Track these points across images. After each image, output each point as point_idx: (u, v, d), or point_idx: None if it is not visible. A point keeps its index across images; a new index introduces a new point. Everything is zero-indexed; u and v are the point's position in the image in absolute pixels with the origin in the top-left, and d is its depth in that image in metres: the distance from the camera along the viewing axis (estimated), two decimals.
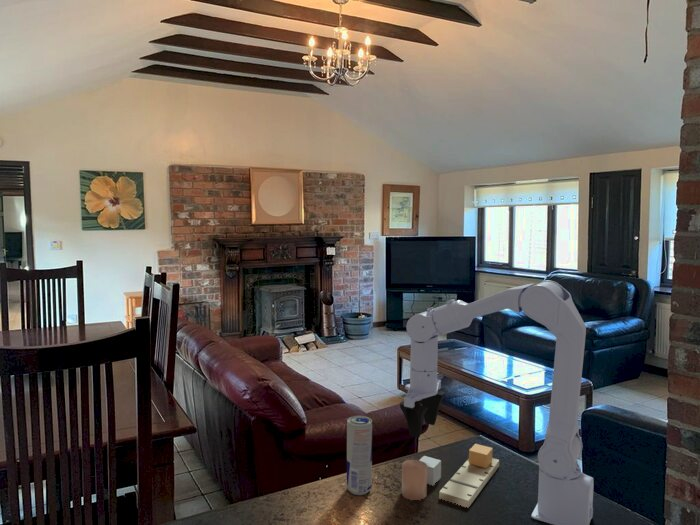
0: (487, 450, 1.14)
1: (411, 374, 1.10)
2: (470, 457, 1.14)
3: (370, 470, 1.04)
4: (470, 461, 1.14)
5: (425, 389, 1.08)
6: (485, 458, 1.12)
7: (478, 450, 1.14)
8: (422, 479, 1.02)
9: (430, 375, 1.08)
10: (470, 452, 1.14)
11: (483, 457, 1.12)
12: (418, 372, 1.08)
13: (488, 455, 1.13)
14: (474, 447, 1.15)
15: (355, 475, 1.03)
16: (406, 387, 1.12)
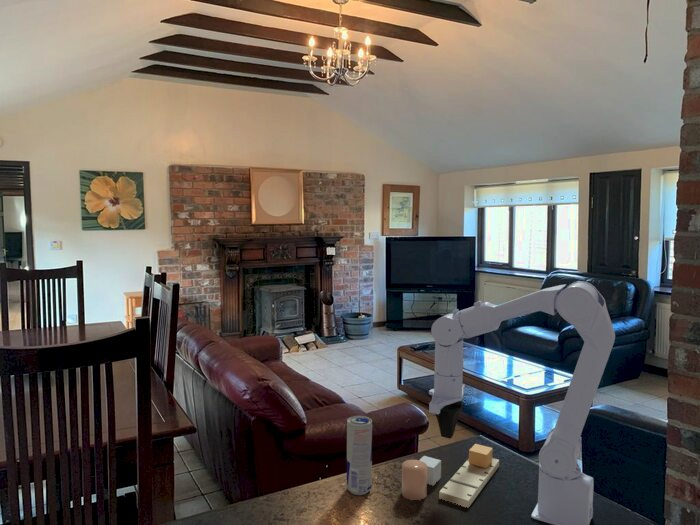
0: (487, 450, 1.14)
1: (435, 379, 1.06)
2: (470, 457, 1.14)
3: (370, 470, 1.04)
4: (470, 461, 1.14)
5: (451, 394, 1.04)
6: (485, 458, 1.12)
7: (478, 450, 1.14)
8: (422, 479, 1.02)
9: (456, 380, 1.04)
10: (470, 452, 1.14)
11: (483, 457, 1.12)
12: (443, 377, 1.04)
13: (488, 455, 1.13)
14: (474, 447, 1.15)
15: (355, 475, 1.03)
16: (430, 392, 1.08)
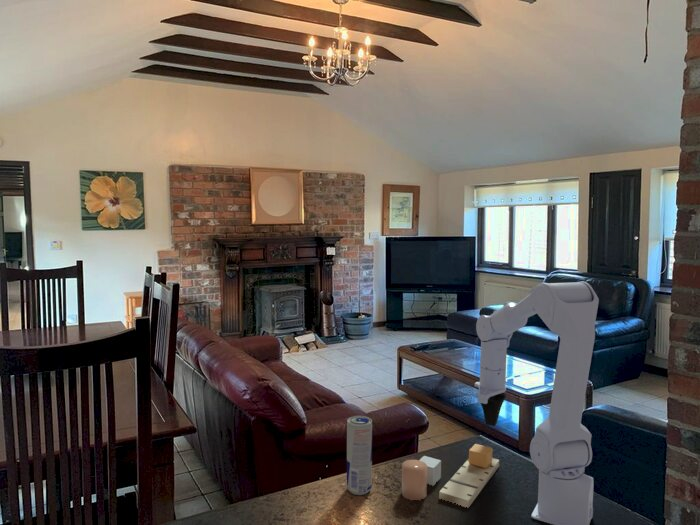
0: (487, 450, 1.14)
1: (481, 372, 1.18)
2: (470, 457, 1.14)
3: (370, 470, 1.04)
4: (470, 461, 1.14)
5: (496, 386, 1.16)
6: (485, 458, 1.12)
7: (478, 450, 1.14)
8: (422, 479, 1.02)
9: (500, 373, 1.16)
10: (470, 452, 1.14)
11: (483, 457, 1.12)
12: (489, 371, 1.16)
13: (488, 455, 1.13)
14: (474, 447, 1.15)
15: (355, 475, 1.03)
16: (476, 384, 1.20)
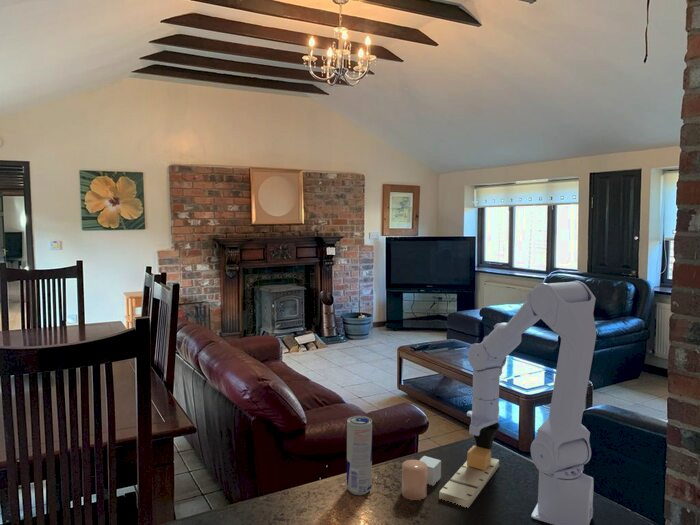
0: (485, 452, 1.13)
1: (474, 402, 1.14)
2: (468, 459, 1.13)
3: (370, 470, 1.04)
4: (468, 463, 1.13)
5: (489, 417, 1.13)
6: (484, 460, 1.11)
7: (476, 452, 1.13)
8: (422, 479, 1.02)
9: (493, 403, 1.13)
10: (468, 454, 1.13)
11: (481, 459, 1.11)
12: (481, 400, 1.13)
13: (486, 457, 1.12)
14: (472, 449, 1.14)
15: (355, 475, 1.03)
16: (468, 414, 1.17)
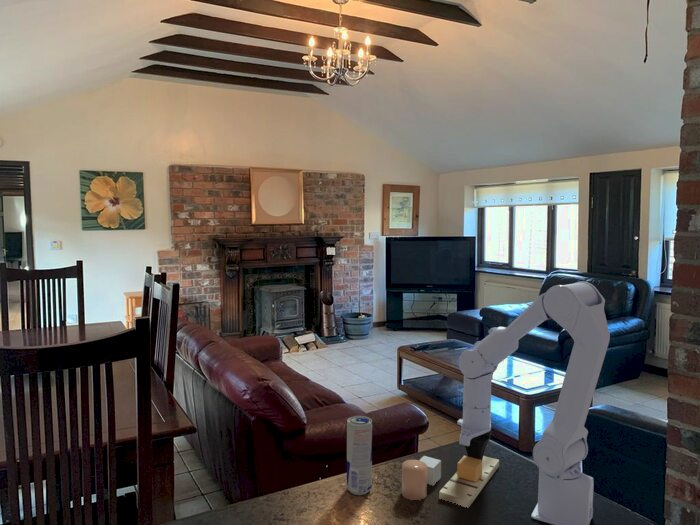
0: (476, 463, 1.08)
1: (464, 410, 1.10)
2: (458, 470, 1.08)
3: (370, 470, 1.04)
4: (458, 474, 1.08)
5: (480, 426, 1.08)
6: (475, 472, 1.06)
7: (467, 463, 1.08)
8: (422, 479, 1.02)
9: (484, 412, 1.08)
10: (458, 465, 1.08)
11: (472, 470, 1.06)
12: (472, 409, 1.08)
13: (477, 468, 1.07)
14: (463, 459, 1.09)
15: (355, 475, 1.03)
16: (458, 423, 1.12)
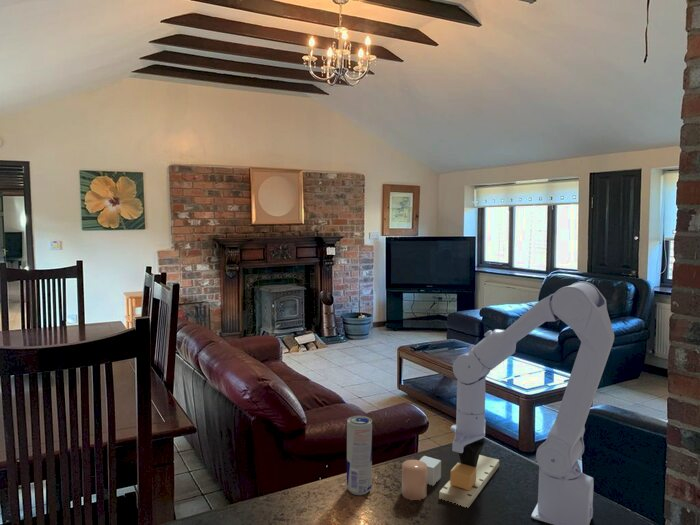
0: (470, 470, 1.05)
1: (458, 416, 1.06)
2: (452, 478, 1.05)
3: (370, 470, 1.04)
4: (451, 482, 1.05)
5: (474, 432, 1.05)
6: (468, 480, 1.03)
7: (460, 470, 1.05)
8: (422, 479, 1.02)
9: (478, 418, 1.04)
10: (452, 472, 1.05)
11: (465, 478, 1.03)
12: (466, 415, 1.05)
13: (471, 476, 1.04)
14: (456, 467, 1.06)
15: (355, 475, 1.03)
16: (452, 429, 1.09)
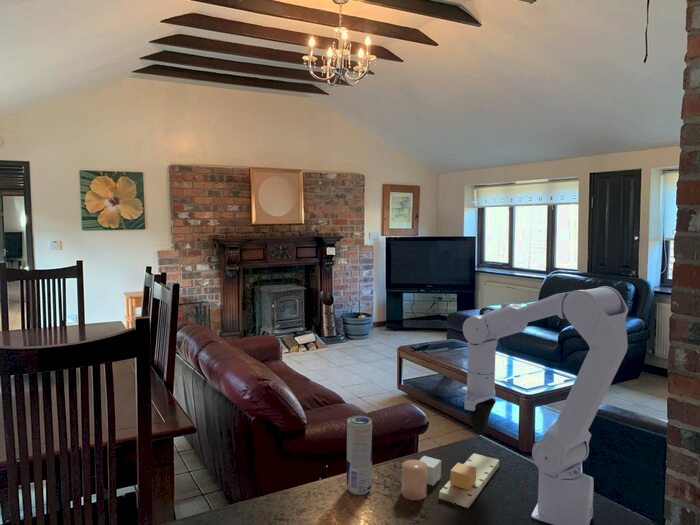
0: (470, 470, 1.05)
1: (469, 377, 1.10)
2: (452, 478, 1.05)
3: (370, 470, 1.04)
4: (451, 482, 1.05)
5: (484, 392, 1.08)
6: (468, 480, 1.03)
7: (460, 470, 1.05)
8: (422, 479, 1.02)
9: (489, 378, 1.08)
10: (452, 472, 1.05)
11: (465, 478, 1.03)
12: (477, 375, 1.08)
13: (471, 476, 1.04)
14: (456, 467, 1.06)
15: (355, 475, 1.03)
16: (463, 390, 1.12)
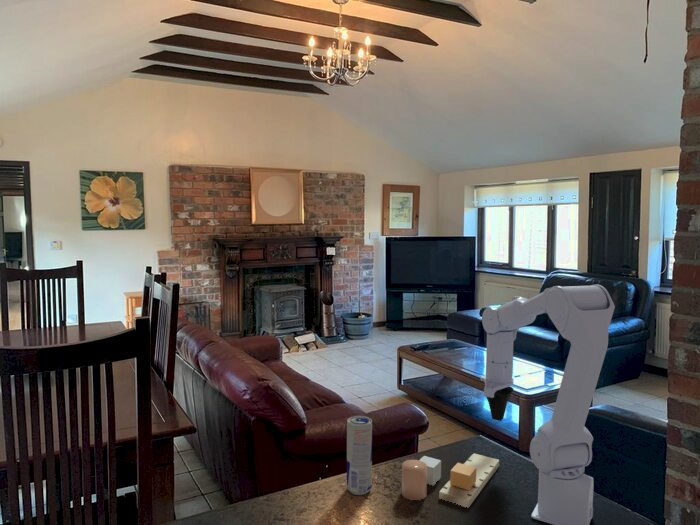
0: (470, 470, 1.05)
1: (488, 366, 1.15)
2: (452, 478, 1.05)
3: (370, 470, 1.04)
4: (451, 482, 1.05)
5: (503, 380, 1.13)
6: (468, 480, 1.03)
7: (460, 470, 1.05)
8: (422, 479, 1.02)
9: (507, 367, 1.13)
10: (452, 472, 1.05)
11: (465, 478, 1.03)
12: (495, 364, 1.13)
13: (471, 476, 1.04)
14: (456, 467, 1.06)
15: (355, 475, 1.03)
16: (481, 378, 1.17)
